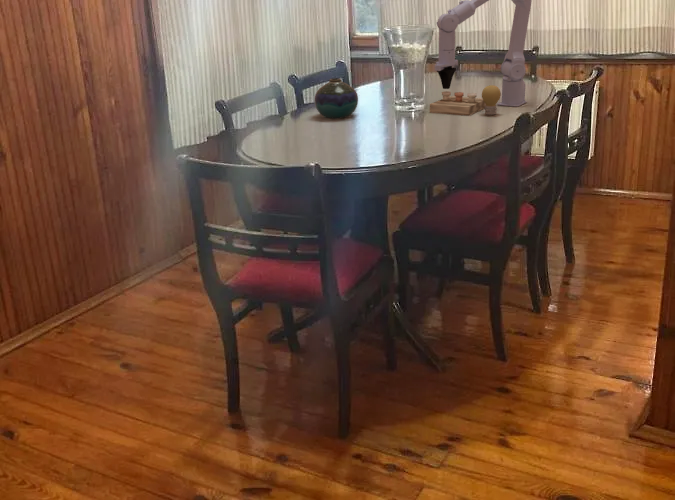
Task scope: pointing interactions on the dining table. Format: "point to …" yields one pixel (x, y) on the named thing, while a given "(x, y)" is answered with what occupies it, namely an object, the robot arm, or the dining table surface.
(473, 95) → the plug near
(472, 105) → the socket board
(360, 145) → the dining table surface
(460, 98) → the plug mid
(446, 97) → the plug far
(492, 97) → the light bulb
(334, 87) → the vase
